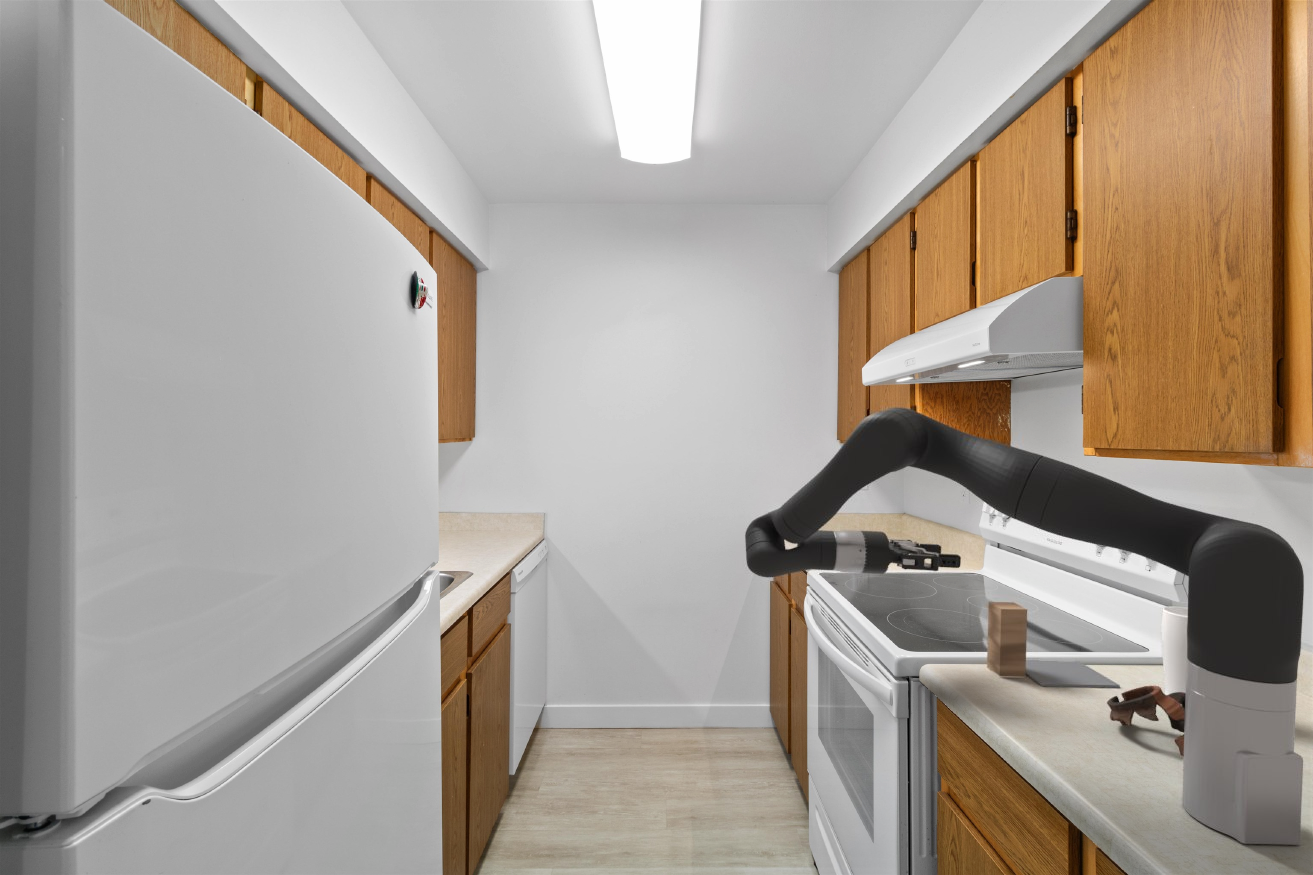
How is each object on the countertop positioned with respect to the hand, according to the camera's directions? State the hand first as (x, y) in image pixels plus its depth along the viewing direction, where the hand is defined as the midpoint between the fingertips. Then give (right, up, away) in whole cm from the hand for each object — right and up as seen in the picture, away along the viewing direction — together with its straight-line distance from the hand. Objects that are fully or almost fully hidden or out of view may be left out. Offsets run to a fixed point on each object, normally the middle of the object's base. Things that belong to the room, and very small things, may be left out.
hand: (949, 555), depth 117 cm
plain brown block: (+10, -21, 0) cm, 23 cm away
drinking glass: (+31, -22, -13) cm, 40 cm away
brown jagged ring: (+19, -22, -24) cm, 37 cm away
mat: (+20, -21, 0) cm, 29 cm away
